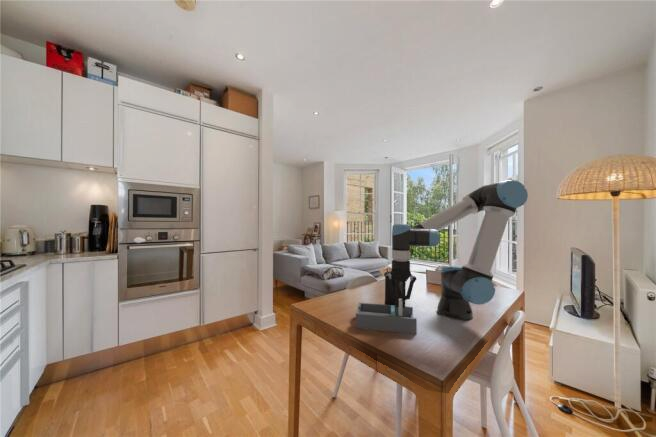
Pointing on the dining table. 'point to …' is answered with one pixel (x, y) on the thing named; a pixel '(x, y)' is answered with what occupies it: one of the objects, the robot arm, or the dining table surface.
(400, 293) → the container
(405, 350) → the dining table surface
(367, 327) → the grey shallow rectangular box
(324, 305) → the dining table surface
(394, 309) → the pusher
